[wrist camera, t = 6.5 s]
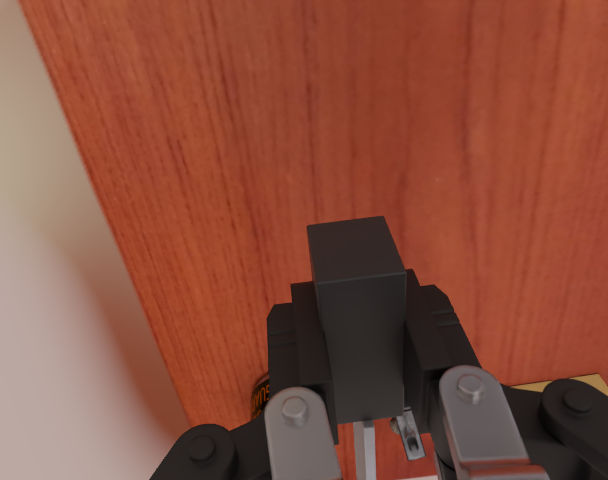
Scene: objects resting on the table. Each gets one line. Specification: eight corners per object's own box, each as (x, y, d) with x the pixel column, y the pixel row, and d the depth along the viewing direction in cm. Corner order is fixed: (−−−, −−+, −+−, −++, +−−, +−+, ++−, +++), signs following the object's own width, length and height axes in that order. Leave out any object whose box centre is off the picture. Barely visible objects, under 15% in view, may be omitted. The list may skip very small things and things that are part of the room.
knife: (306, 224, 13) (317, 289, 11) (383, 214, 13) (409, 277, 11) (338, 513, 21) (348, 584, 19) (387, 506, 21) (402, 576, 19)
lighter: (366, 343, 41) (368, 362, 36) (391, 336, 41) (397, 354, 35) (394, 440, 41) (401, 473, 36) (420, 434, 41) (430, 466, 36)
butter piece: (598, 373, 41) (620, 404, 39) (590, 401, 43) (610, 432, 41) (567, 377, 41) (587, 409, 39) (560, 405, 43) (578, 437, 41)
